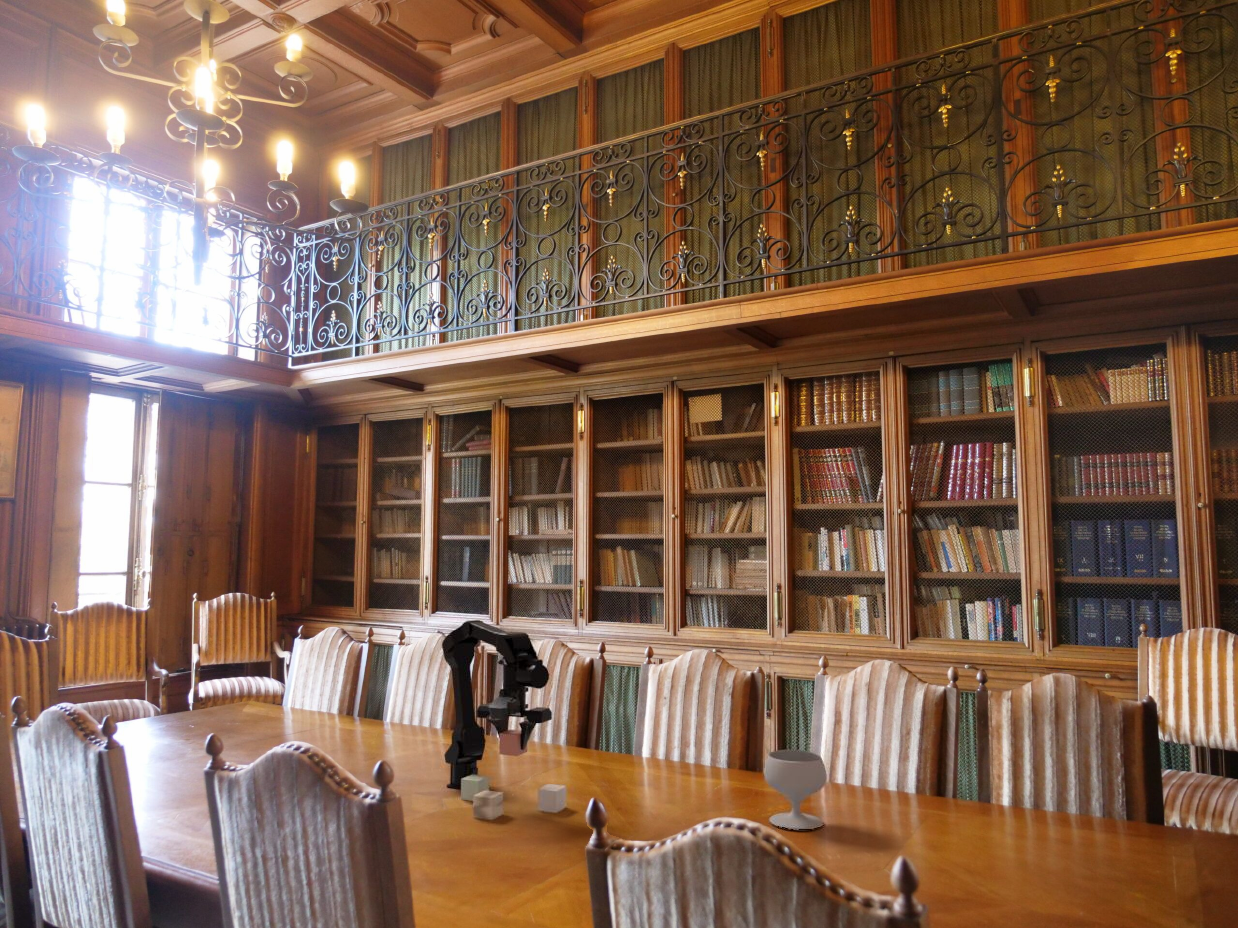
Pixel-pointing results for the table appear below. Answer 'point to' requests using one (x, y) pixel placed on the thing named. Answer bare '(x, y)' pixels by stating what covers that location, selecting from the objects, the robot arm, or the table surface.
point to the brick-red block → (511, 743)
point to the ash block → (488, 805)
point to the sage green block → (473, 786)
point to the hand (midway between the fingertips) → (513, 748)
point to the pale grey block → (552, 798)
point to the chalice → (795, 784)
